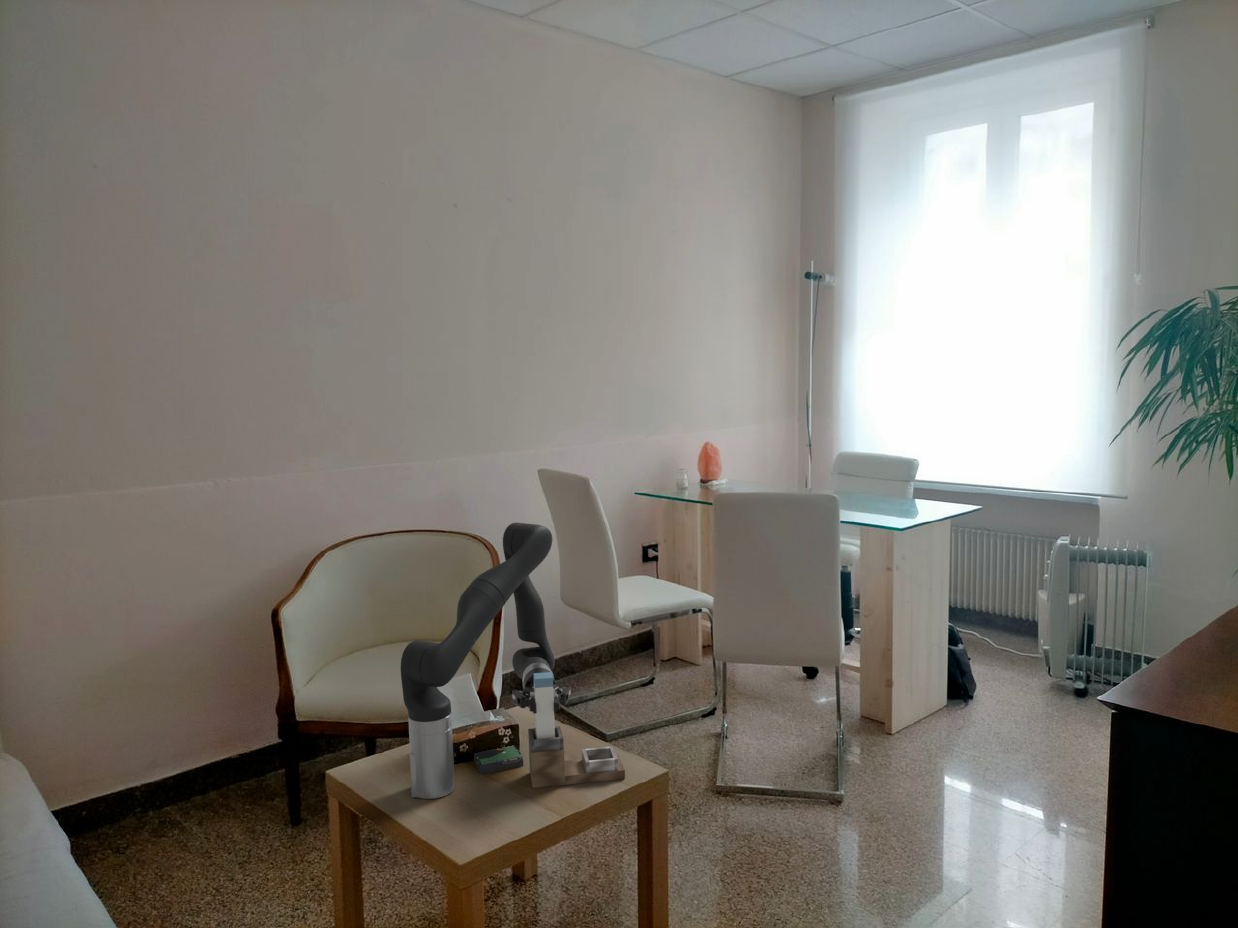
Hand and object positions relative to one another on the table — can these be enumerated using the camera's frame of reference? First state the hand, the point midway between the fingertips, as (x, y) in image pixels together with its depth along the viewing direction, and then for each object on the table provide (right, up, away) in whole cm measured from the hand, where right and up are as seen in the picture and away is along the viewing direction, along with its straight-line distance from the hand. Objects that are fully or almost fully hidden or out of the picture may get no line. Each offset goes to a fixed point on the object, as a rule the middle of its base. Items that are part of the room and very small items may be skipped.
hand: (545, 708), depth 205 cm
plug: (0, -8, +4) cm, 9 cm away
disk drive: (-13, -17, +17) cm, 27 cm away
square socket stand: (+6, -17, +6) cm, 19 cm away
